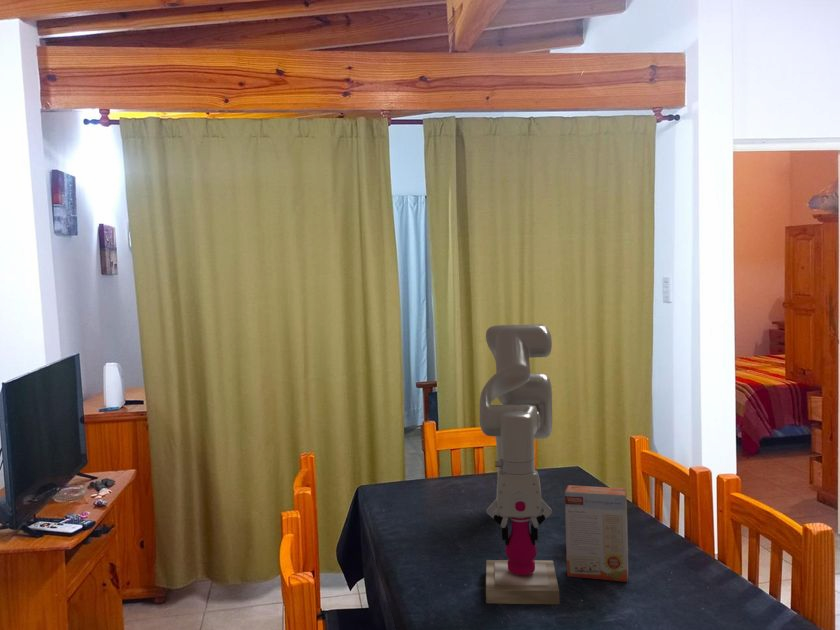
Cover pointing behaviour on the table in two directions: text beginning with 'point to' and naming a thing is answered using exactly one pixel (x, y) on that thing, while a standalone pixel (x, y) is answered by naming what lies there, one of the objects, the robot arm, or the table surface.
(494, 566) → the birch plinth
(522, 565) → the pepper mill
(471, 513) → the table surface
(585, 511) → the cracker box
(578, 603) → the table surface
